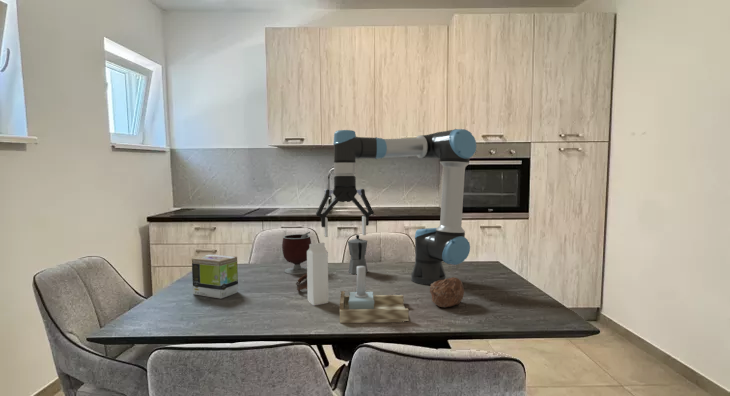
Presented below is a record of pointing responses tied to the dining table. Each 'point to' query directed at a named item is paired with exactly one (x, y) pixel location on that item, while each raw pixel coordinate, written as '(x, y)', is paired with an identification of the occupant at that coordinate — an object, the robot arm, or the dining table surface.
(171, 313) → the dining table surface
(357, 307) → the cylinder on square plate
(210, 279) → the tea box
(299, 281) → the pottery mug
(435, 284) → the decorative rock
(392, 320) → the tray
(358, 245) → the coffeepot
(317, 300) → the milk
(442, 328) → the dining table surface
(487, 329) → the dining table surface
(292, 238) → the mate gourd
